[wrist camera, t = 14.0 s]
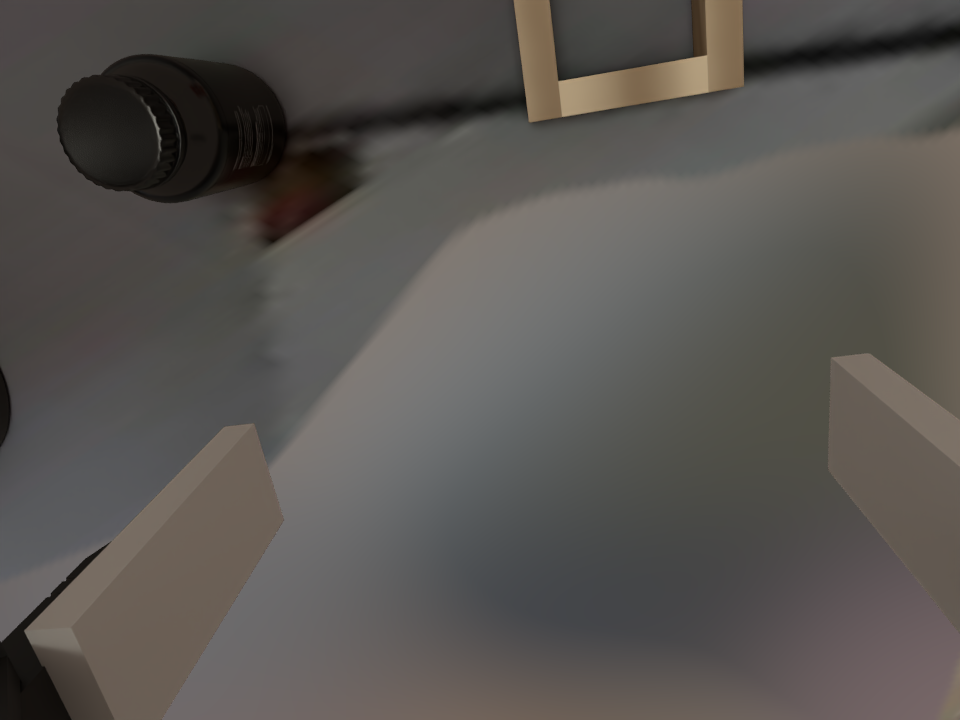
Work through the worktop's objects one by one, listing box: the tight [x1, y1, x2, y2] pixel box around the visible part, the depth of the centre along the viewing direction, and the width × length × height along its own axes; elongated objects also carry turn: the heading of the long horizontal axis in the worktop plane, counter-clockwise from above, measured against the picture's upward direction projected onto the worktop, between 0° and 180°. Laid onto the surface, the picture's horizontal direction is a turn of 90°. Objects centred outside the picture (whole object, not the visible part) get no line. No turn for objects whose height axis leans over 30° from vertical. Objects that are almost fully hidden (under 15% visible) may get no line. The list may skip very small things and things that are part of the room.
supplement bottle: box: [57, 54, 285, 203], centre depth 33 cm, size 7×7×12 cm
